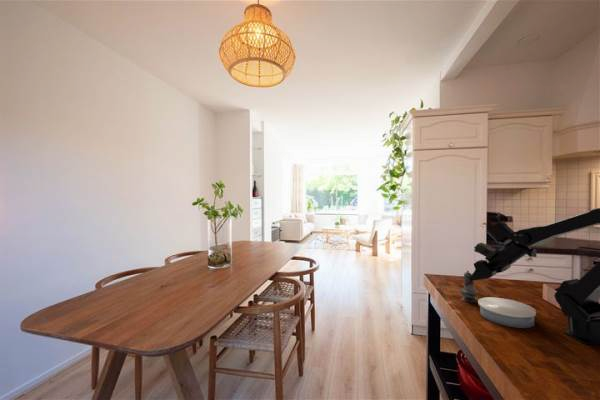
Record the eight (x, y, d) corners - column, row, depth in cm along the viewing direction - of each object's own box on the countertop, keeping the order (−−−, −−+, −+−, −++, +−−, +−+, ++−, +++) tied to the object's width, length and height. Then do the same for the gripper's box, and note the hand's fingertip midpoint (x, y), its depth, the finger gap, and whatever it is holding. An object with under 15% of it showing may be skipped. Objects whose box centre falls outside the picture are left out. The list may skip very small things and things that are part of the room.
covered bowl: (550, 329, 73) (549, 316, 73) (495, 327, 76) (495, 314, 76) (514, 308, 88) (514, 297, 88) (470, 307, 90) (469, 296, 90)
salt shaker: (461, 301, 96) (460, 271, 96) (459, 296, 101) (458, 268, 101) (479, 303, 93) (478, 273, 93) (476, 298, 98) (475, 269, 99)
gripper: (498, 234, 96) (469, 257, 105) (478, 239, 86) (447, 264, 95) (526, 257, 89) (491, 279, 98) (507, 265, 79) (471, 289, 88)
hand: (475, 277), depth 95 cm, fingers open, 9 cm apart
